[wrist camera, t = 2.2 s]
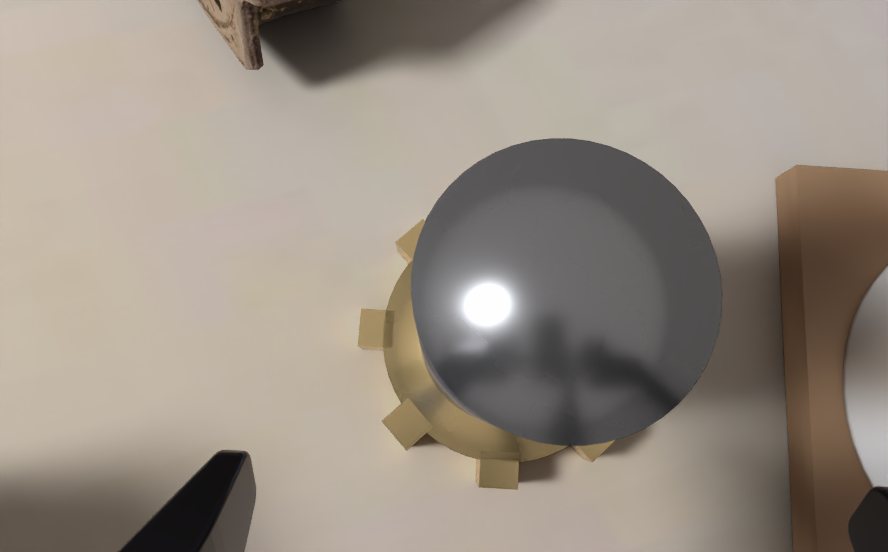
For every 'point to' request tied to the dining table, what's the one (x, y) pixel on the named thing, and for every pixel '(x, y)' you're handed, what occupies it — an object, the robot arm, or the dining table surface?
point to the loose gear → (547, 307)
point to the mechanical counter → (250, 22)
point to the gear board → (833, 345)
